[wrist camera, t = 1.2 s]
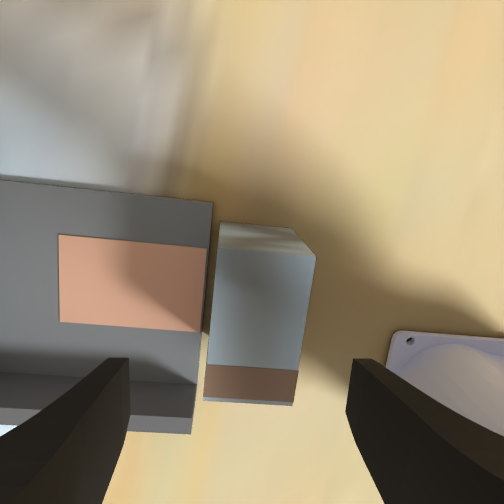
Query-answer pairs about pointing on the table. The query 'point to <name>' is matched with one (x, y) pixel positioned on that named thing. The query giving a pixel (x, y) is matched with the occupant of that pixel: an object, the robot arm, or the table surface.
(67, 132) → the table surface
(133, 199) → the tray
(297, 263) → the blue block
